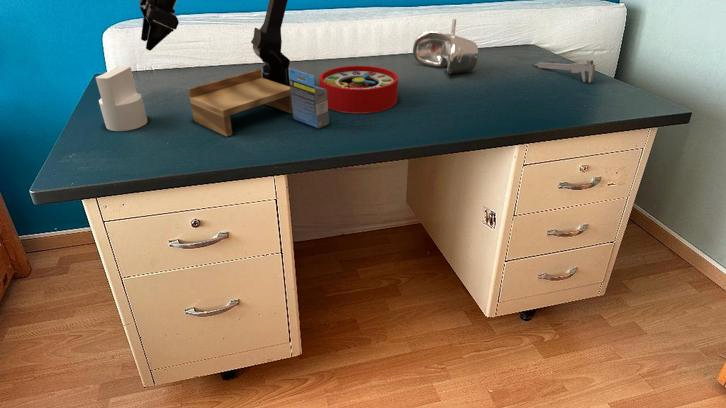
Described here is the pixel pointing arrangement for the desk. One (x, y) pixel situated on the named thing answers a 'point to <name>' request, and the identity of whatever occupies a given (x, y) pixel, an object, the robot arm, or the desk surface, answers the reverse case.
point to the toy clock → (360, 89)
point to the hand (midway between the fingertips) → (145, 45)
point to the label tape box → (308, 100)
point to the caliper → (573, 68)
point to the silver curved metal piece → (446, 51)
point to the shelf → (235, 99)
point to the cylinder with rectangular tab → (120, 100)
